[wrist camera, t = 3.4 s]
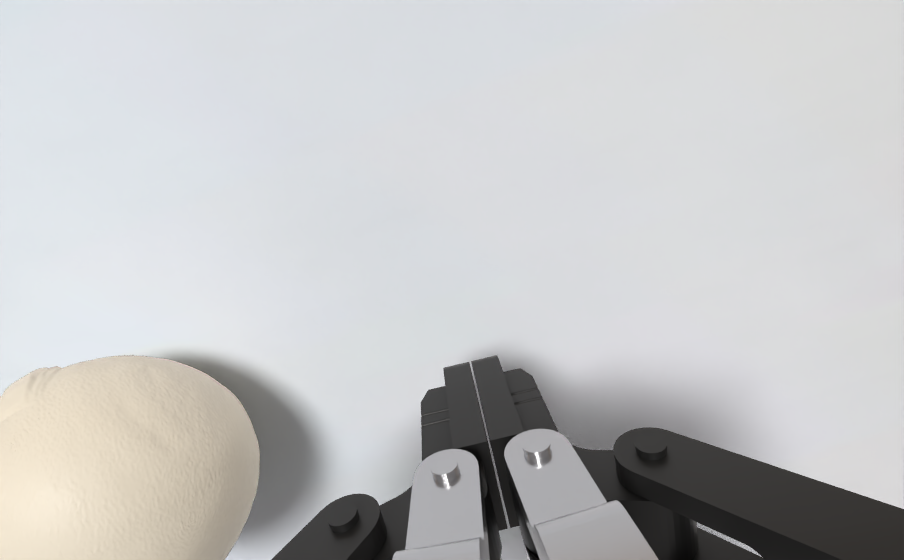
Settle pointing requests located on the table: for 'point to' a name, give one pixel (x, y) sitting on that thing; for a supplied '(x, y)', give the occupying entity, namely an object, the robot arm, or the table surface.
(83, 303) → the table surface
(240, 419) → the cream rounded lump
